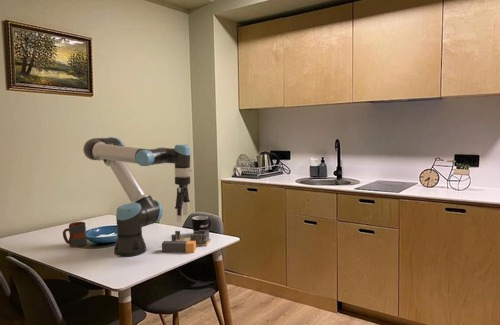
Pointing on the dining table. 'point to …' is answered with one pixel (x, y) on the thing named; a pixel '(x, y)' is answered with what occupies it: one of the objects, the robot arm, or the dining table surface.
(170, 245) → the cable bar
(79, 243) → the mug
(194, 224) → the mug
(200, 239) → the grey block assembly
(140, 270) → the dining table surface
